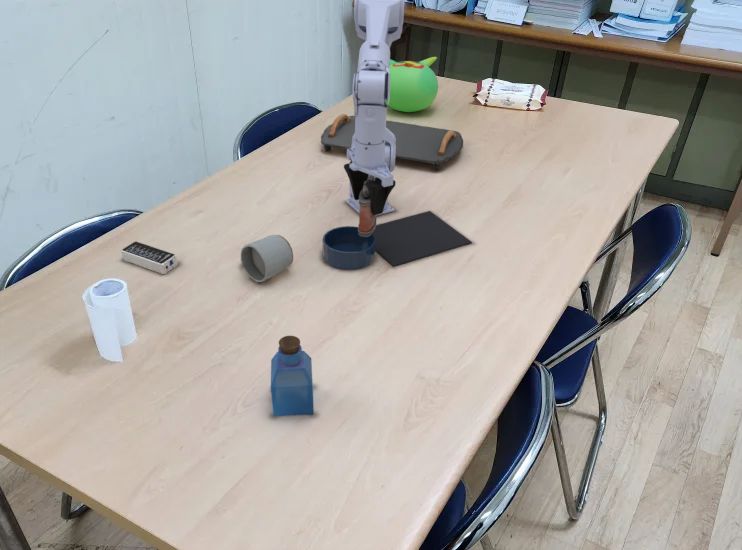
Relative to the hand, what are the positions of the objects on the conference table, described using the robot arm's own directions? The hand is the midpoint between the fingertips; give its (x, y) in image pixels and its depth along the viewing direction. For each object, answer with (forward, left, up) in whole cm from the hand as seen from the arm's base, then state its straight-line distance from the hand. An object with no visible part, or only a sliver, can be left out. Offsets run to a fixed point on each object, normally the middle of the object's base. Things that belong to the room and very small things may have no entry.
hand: (368, 205), depth 129 cm
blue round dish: (0, -4, -10) cm, 11 cm away
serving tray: (-44, +34, -11) cm, 56 cm away
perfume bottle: (+34, -33, -11) cm, 49 cm away
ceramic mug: (-3, -22, -11) cm, 25 cm away
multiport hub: (-17, -41, -11) cm, 46 cm away
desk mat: (0, +12, -10) cm, 16 cm away
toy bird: (-67, +54, -11) cm, 86 cm away
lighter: (0, 0, -5) cm, 5 cm away
